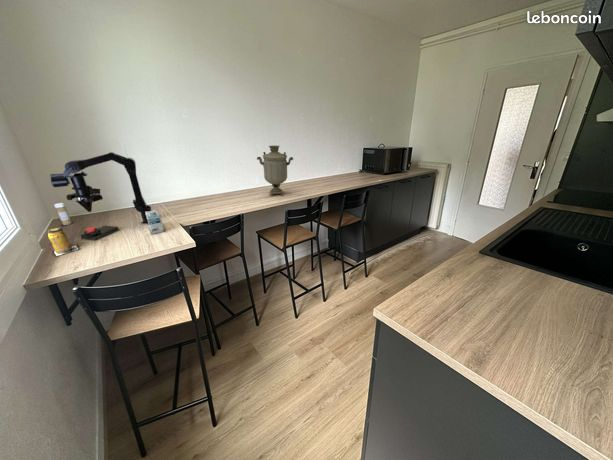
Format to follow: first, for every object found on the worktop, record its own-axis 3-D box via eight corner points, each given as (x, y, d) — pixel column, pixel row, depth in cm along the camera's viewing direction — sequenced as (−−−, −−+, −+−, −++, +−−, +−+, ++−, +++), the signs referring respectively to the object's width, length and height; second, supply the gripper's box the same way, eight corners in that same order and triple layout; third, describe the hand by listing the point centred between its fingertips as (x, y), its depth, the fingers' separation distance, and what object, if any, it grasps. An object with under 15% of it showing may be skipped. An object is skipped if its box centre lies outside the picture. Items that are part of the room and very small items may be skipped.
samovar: (298, 190, 229) (297, 144, 213) (290, 198, 206) (288, 147, 190) (267, 188, 236) (264, 143, 219) (256, 196, 212) (251, 146, 196)
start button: (98, 230, 140) (96, 227, 139) (91, 233, 136) (89, 229, 135) (92, 229, 141) (91, 226, 140) (85, 232, 137) (83, 229, 136)
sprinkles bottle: (73, 222, 161) (64, 202, 155) (70, 224, 157) (62, 204, 152) (64, 223, 159) (55, 203, 154) (61, 225, 155) (52, 205, 150)
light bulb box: (164, 231, 146) (160, 214, 142) (151, 234, 143) (146, 216, 138) (162, 225, 154) (157, 209, 150) (149, 228, 151) (144, 211, 146)
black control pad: (119, 230, 149) (116, 224, 147) (95, 240, 136) (92, 234, 134) (105, 228, 151) (103, 222, 149) (80, 239, 138) (78, 232, 136)
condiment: (54, 251, 125) (43, 229, 120) (75, 245, 131) (66, 224, 126) (56, 256, 121) (45, 233, 116) (79, 249, 127) (69, 228, 122)
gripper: (107, 182, 142) (116, 208, 148) (81, 180, 146) (91, 206, 152) (87, 187, 132) (97, 214, 138) (60, 185, 136) (71, 212, 143)
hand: (90, 211), depth 143 cm, fingers closed
